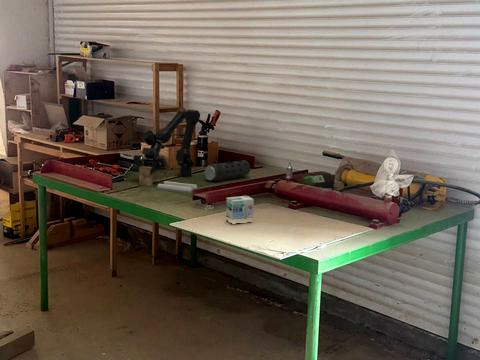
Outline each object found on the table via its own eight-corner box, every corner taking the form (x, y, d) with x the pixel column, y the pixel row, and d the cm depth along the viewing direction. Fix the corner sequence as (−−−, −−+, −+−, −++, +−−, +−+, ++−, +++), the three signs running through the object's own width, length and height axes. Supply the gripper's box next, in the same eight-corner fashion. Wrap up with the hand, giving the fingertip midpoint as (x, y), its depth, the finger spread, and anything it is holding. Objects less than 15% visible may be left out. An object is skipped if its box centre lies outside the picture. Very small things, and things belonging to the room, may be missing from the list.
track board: (166, 185, 321) (166, 180, 320) (197, 189, 314) (197, 184, 314) (156, 189, 311) (156, 184, 310) (189, 193, 304) (189, 188, 304)
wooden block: (142, 183, 321) (142, 166, 319) (152, 185, 319) (152, 167, 317) (138, 185, 318) (138, 167, 315) (149, 186, 315) (149, 168, 313)
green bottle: (284, 198, 302) (285, 179, 300) (272, 194, 310) (273, 175, 308) (339, 190, 324) (340, 172, 322) (327, 186, 332) (328, 169, 330)
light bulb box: (231, 225, 252) (232, 201, 250) (225, 220, 258) (225, 197, 256) (253, 222, 257) (254, 198, 255) (246, 218, 263) (247, 195, 260)
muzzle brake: (250, 178, 346) (250, 161, 344) (214, 184, 327) (214, 166, 325) (239, 175, 353) (239, 158, 351) (203, 181, 334) (203, 163, 332)
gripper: (134, 140, 320) (124, 163, 313) (164, 143, 314) (155, 167, 306) (141, 152, 329) (131, 175, 322) (171, 155, 323) (162, 178, 315)
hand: (144, 173), depth 316 cm, fingers closed on wooden block, 6 cm apart
